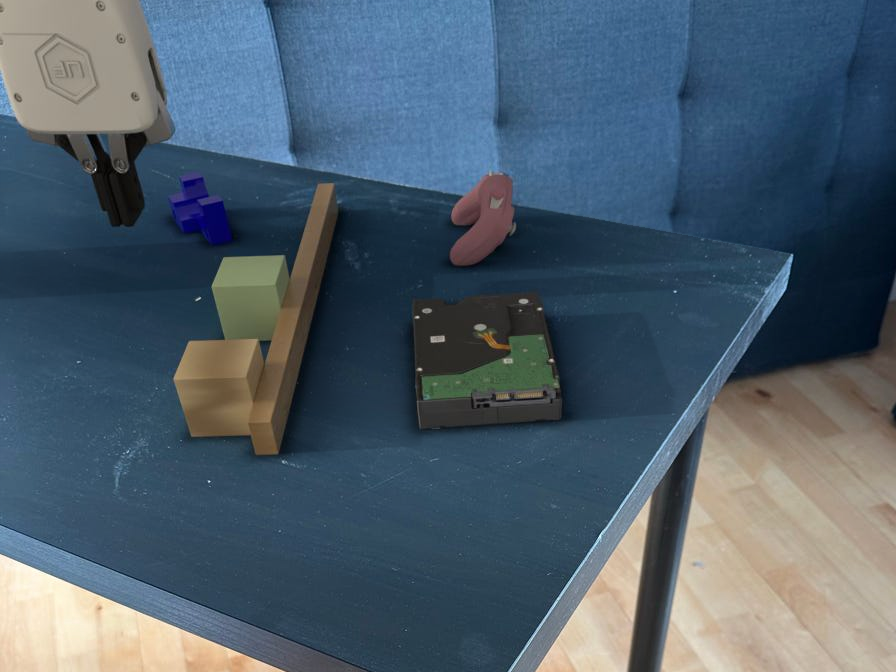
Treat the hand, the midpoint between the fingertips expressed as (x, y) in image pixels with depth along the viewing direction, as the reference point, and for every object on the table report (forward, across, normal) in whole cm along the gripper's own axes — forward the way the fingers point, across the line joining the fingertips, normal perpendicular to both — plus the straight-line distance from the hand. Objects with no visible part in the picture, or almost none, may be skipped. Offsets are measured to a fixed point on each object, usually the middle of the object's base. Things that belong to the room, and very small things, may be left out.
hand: (127, 219), depth 74 cm
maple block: (+8, +10, -16) cm, 21 cm away
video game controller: (+8, +28, +11) cm, 31 cm away
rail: (+8, +13, -1) cm, 15 cm away
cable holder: (+8, +1, +16) cm, 18 cm away
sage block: (+8, +10, -3) cm, 13 cm away
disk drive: (+7, +28, -11) cm, 31 cm away
